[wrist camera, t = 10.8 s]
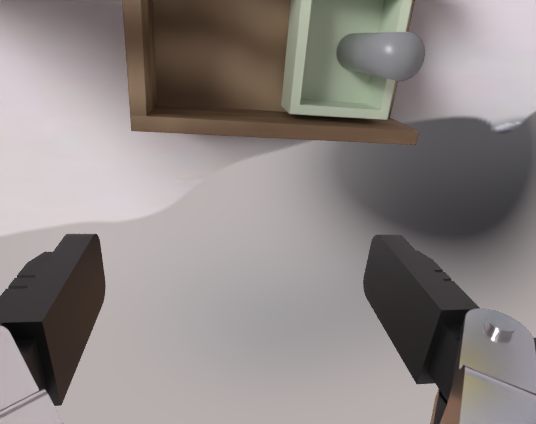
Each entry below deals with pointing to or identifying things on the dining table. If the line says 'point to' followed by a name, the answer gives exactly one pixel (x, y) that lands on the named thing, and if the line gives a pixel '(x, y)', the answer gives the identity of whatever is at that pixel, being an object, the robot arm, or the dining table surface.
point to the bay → (226, 74)
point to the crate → (348, 57)
